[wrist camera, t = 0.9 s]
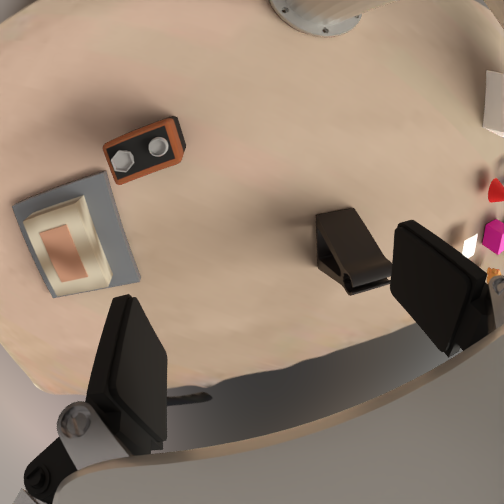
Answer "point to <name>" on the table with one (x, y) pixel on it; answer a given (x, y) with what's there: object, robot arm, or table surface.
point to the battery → (145, 150)
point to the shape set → (490, 230)
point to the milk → (494, 103)
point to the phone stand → (350, 252)
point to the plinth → (69, 247)
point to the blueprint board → (103, 220)
